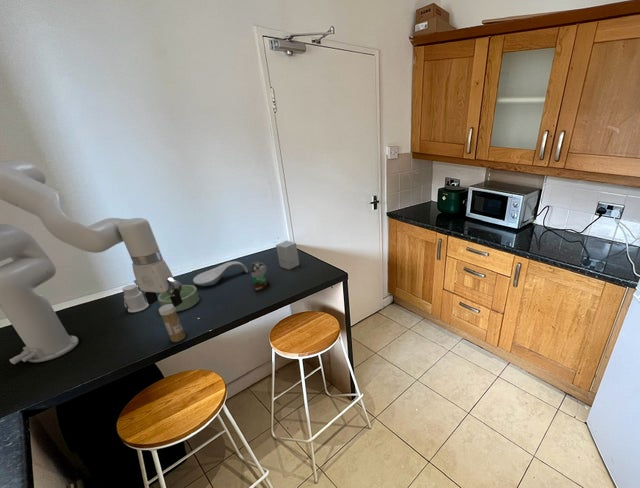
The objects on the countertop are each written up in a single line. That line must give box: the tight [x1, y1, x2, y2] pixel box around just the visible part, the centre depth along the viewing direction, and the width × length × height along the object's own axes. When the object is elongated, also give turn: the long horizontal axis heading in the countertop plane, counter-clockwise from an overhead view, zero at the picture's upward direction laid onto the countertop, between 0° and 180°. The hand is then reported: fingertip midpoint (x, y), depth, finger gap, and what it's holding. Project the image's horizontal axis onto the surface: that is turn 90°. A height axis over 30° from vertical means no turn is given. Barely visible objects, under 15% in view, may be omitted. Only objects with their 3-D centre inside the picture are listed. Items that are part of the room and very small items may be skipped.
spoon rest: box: [192, 261, 249, 287], centre depth 151 cm, size 24×12×7 cm, turn 135°
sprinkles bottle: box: [158, 304, 186, 343], centre depth 110 cm, size 5×5×13 cm
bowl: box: [157, 284, 201, 313], centre depth 132 cm, size 14×14×6 cm
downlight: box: [122, 284, 150, 313], centre depth 128 cm, size 8×7×10 cm
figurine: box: [250, 261, 268, 292], centre depth 145 cm, size 12×6×10 cm, turn 22°
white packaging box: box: [275, 240, 300, 270], centre depth 164 cm, size 7×7×13 cm
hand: (166, 303), depth 106 cm, fingers open, 9 cm apart
